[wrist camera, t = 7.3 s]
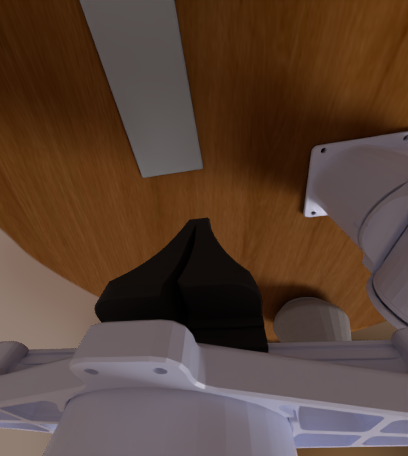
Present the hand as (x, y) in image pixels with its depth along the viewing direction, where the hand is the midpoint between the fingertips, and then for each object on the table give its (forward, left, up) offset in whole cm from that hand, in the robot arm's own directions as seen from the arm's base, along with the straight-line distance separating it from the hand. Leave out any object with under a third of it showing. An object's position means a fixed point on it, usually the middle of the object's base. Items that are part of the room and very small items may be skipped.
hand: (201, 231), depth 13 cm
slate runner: (+4, -11, -10) cm, 16 cm away
